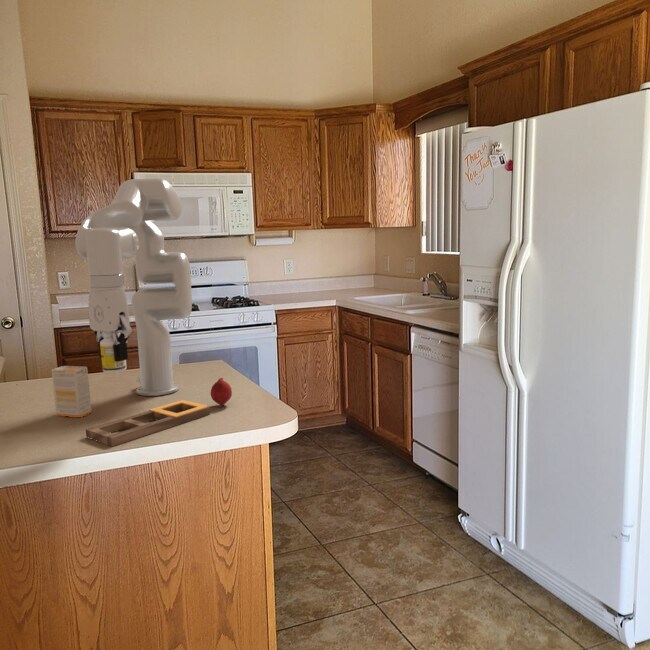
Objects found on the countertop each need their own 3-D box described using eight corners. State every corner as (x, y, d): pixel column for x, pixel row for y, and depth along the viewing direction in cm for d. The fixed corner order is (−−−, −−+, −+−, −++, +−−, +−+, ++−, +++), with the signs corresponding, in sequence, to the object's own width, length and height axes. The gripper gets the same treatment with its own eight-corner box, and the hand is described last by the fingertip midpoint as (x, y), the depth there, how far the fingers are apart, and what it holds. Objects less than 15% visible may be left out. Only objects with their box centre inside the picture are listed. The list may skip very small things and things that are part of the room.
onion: (228, 408, 164) (226, 380, 162) (208, 408, 165) (206, 379, 164) (235, 402, 169) (233, 375, 168) (216, 402, 170) (214, 374, 169)
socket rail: (86, 437, 143) (85, 428, 143) (183, 407, 166) (182, 399, 166) (112, 446, 137) (111, 436, 136) (209, 414, 159) (209, 405, 159)
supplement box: (92, 413, 163) (88, 366, 161) (80, 418, 159) (75, 370, 157) (68, 411, 166) (63, 364, 164) (55, 416, 162) (50, 368, 160)
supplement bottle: (106, 368, 145) (102, 328, 143) (129, 367, 145) (125, 327, 143) (99, 374, 139) (95, 332, 138) (123, 372, 140) (120, 331, 138)
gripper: (72, 282, 141) (79, 358, 144) (113, 285, 131) (120, 366, 134) (100, 279, 147) (107, 352, 150) (143, 282, 136) (149, 360, 139)
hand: (113, 358), depth 142 cm, fingers closed on supplement bottle, 5 cm apart
